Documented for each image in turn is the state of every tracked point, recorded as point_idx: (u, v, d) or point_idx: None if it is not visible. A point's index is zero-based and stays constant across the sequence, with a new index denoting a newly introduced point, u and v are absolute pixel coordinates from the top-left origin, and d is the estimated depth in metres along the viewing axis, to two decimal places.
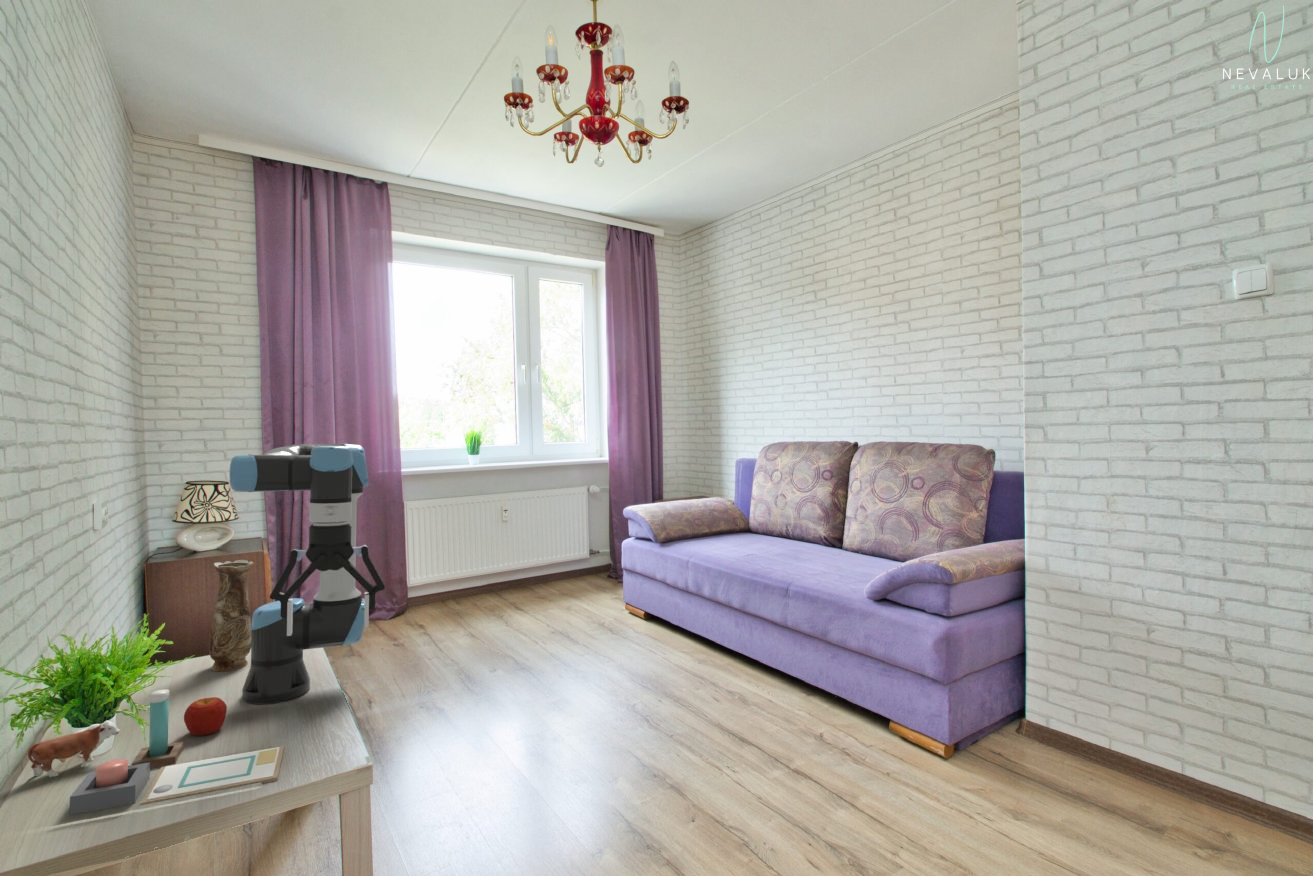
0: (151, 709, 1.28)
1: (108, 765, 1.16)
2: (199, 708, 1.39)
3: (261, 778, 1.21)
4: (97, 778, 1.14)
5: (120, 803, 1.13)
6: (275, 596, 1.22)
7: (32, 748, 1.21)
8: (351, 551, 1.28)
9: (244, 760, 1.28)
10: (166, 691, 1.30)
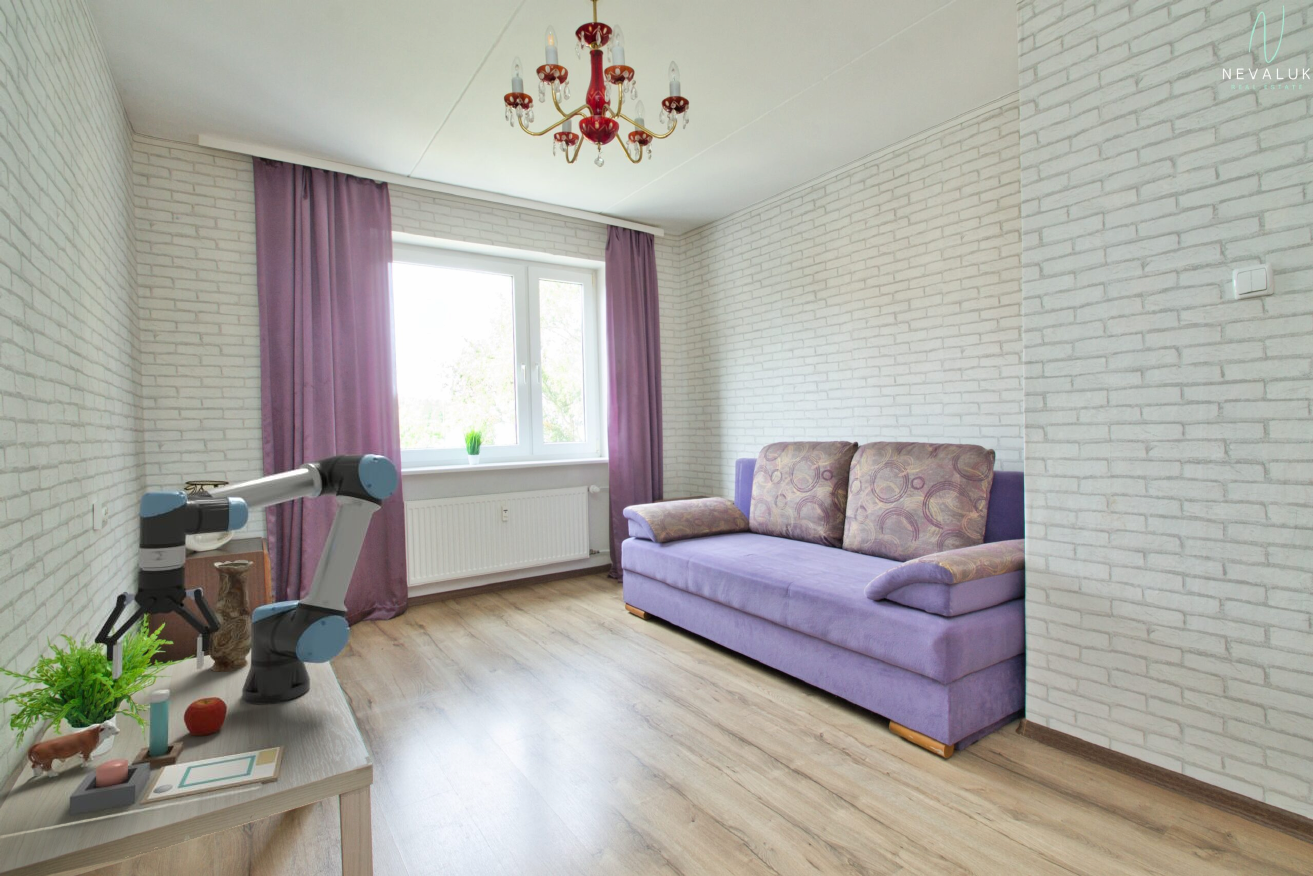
0: (151, 709, 1.28)
1: (108, 765, 1.16)
2: (199, 708, 1.39)
3: (261, 778, 1.21)
4: (97, 778, 1.14)
5: (120, 803, 1.13)
6: (100, 640, 1.24)
7: (32, 749, 1.21)
8: (183, 594, 1.30)
9: (244, 760, 1.28)
10: (166, 691, 1.30)
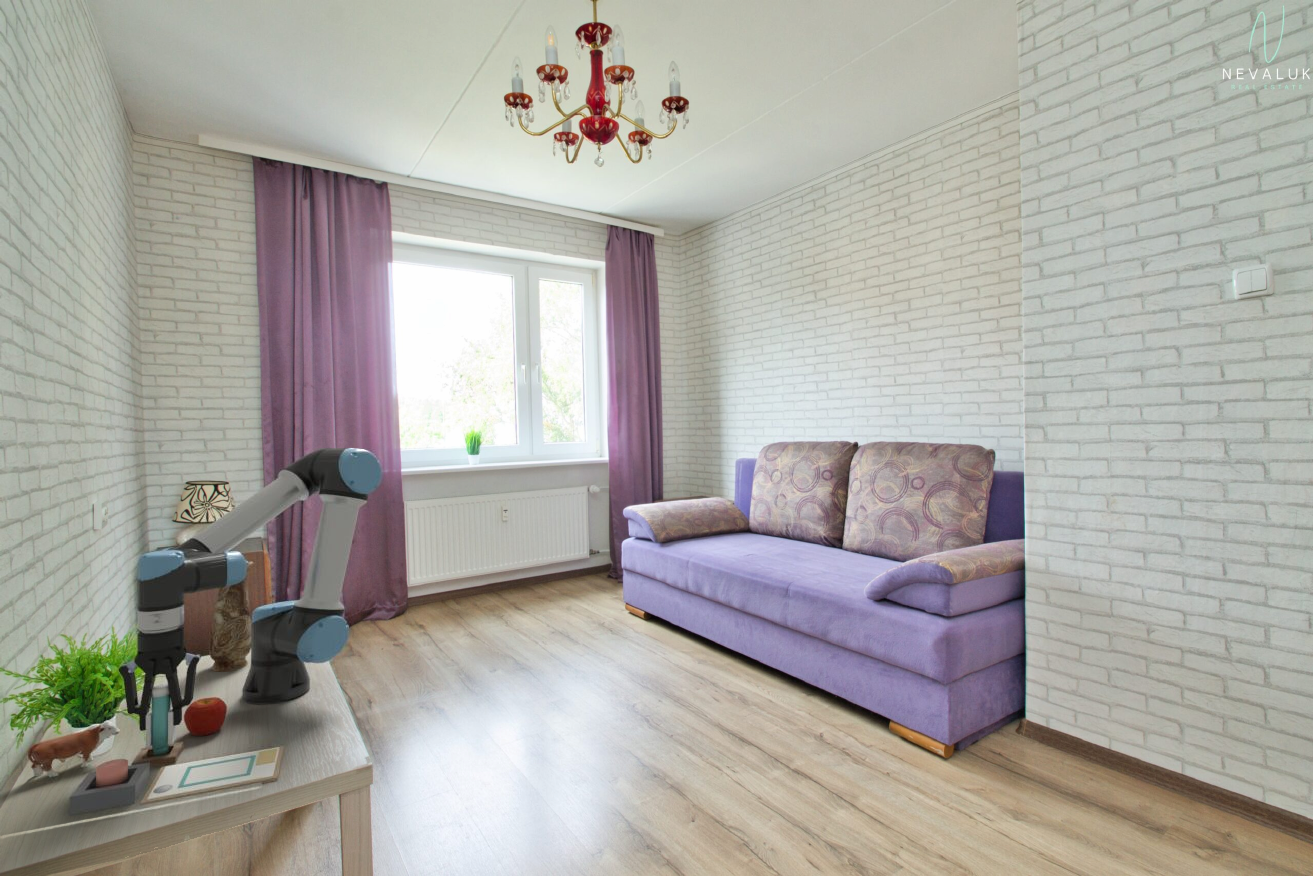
0: (153, 703, 1.28)
1: (108, 765, 1.16)
2: (199, 708, 1.39)
3: (261, 778, 1.21)
4: (97, 778, 1.14)
5: (120, 803, 1.13)
6: (133, 710, 1.26)
7: (32, 749, 1.21)
8: (182, 656, 1.30)
9: (244, 760, 1.28)
10: None
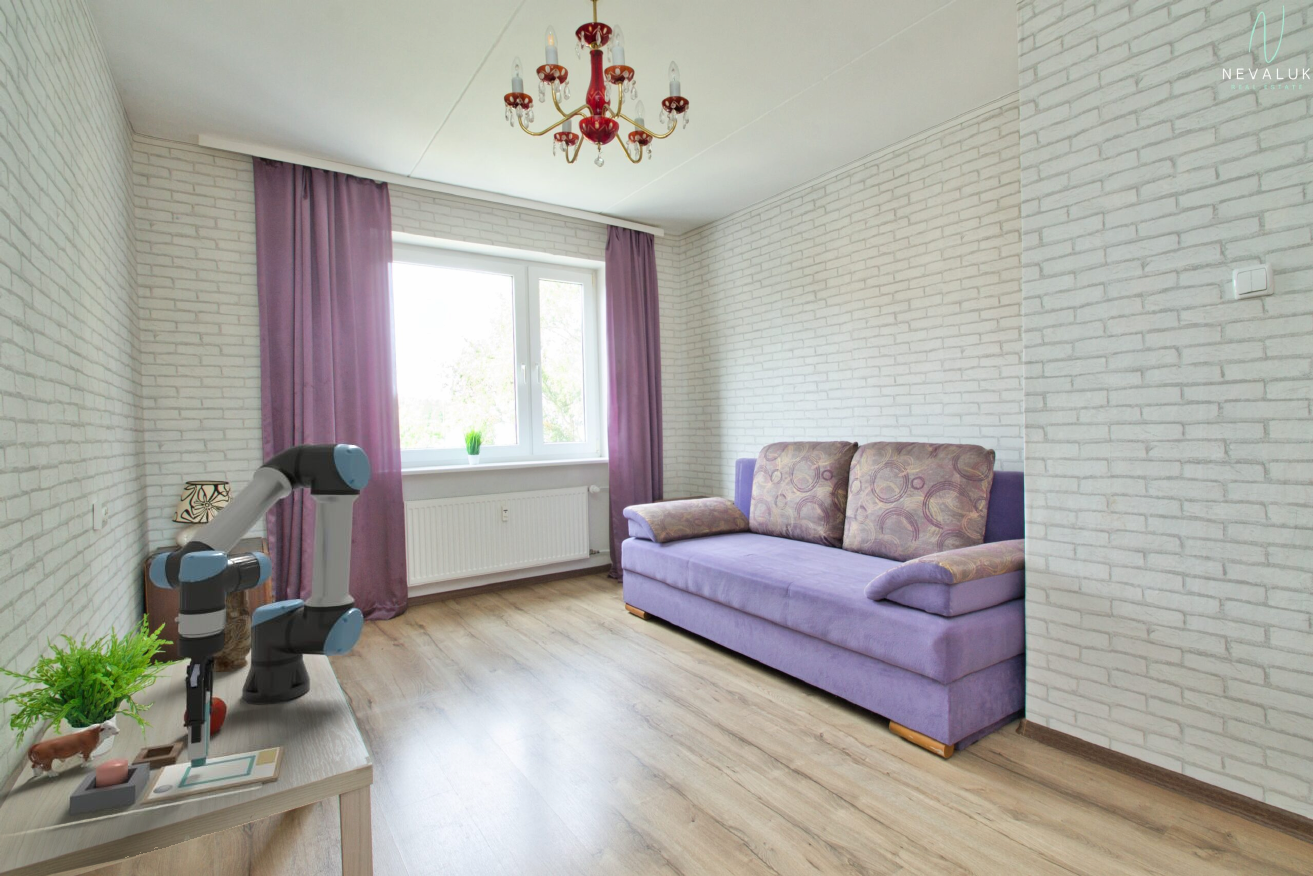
0: None
1: (108, 765, 1.16)
2: None
3: (261, 778, 1.21)
4: (97, 778, 1.14)
5: (120, 803, 1.13)
6: None
7: (32, 748, 1.21)
8: (190, 670, 1.20)
9: (244, 760, 1.28)
10: None
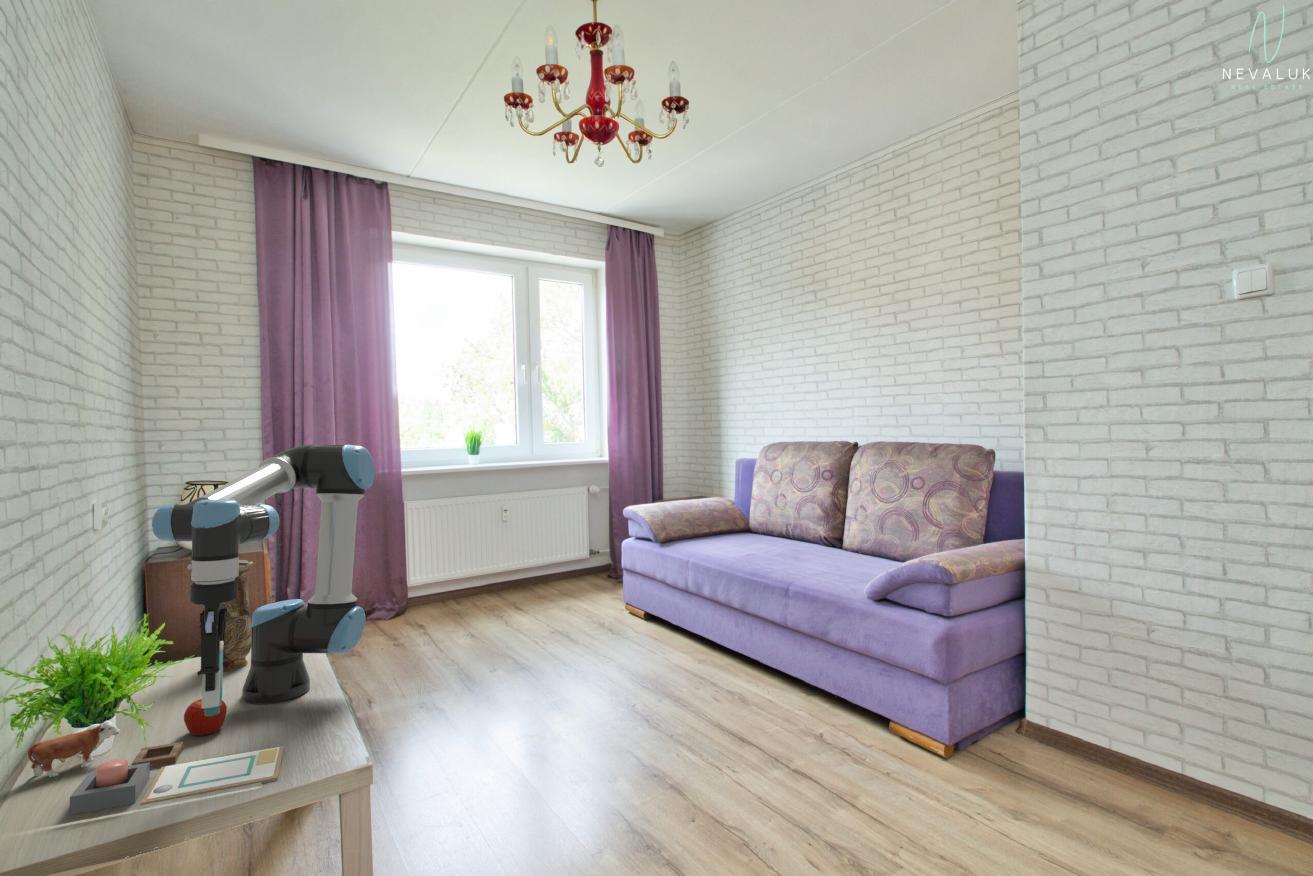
0: None
1: (108, 765, 1.16)
2: (199, 708, 1.39)
3: (261, 778, 1.21)
4: (97, 778, 1.14)
5: (120, 803, 1.13)
6: None
7: (32, 748, 1.21)
8: (204, 617, 1.18)
9: (244, 760, 1.28)
10: None
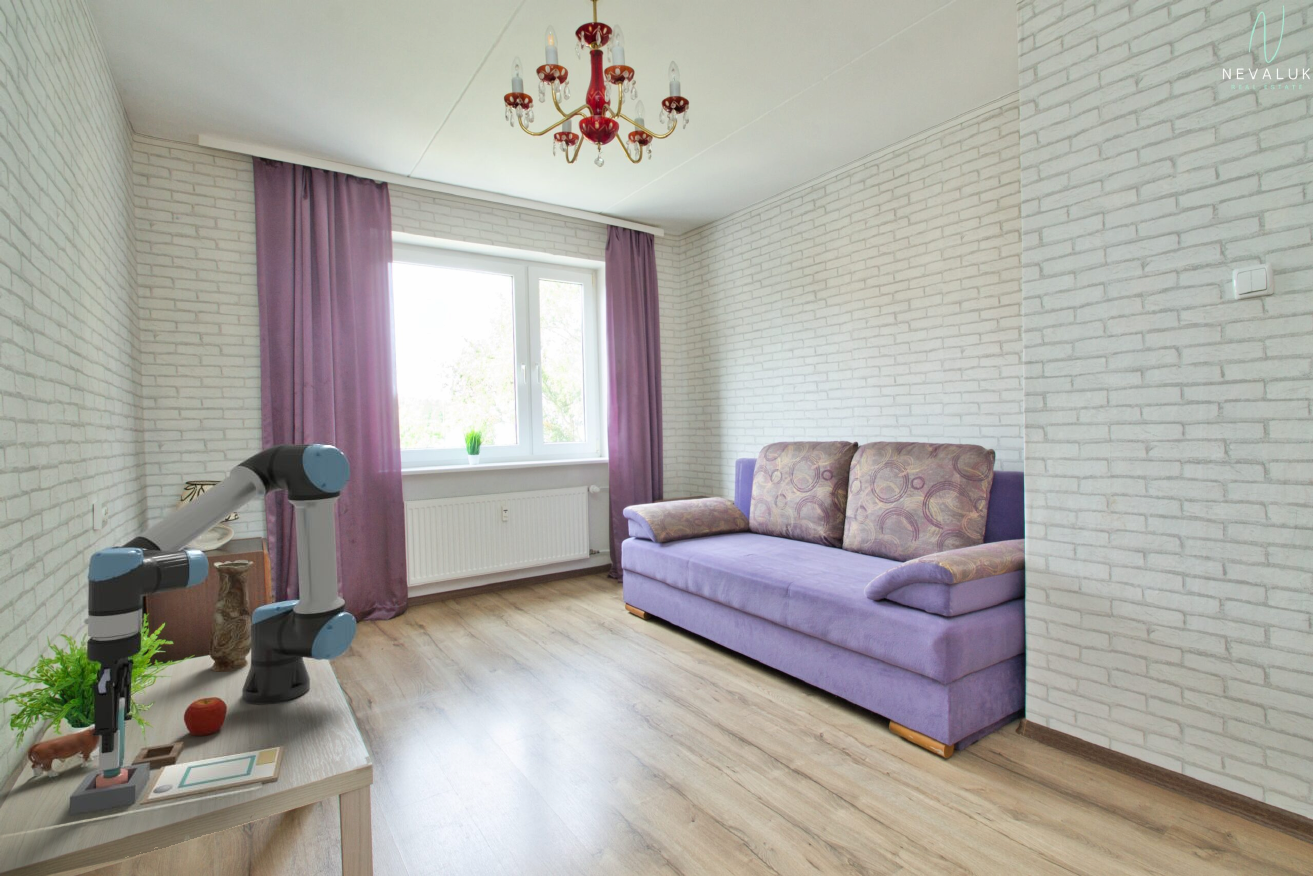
0: None
1: None
2: (199, 708, 1.39)
3: (261, 778, 1.21)
4: None
5: (120, 803, 1.13)
6: None
7: (32, 749, 1.21)
8: (99, 675, 1.12)
9: (244, 760, 1.28)
10: None
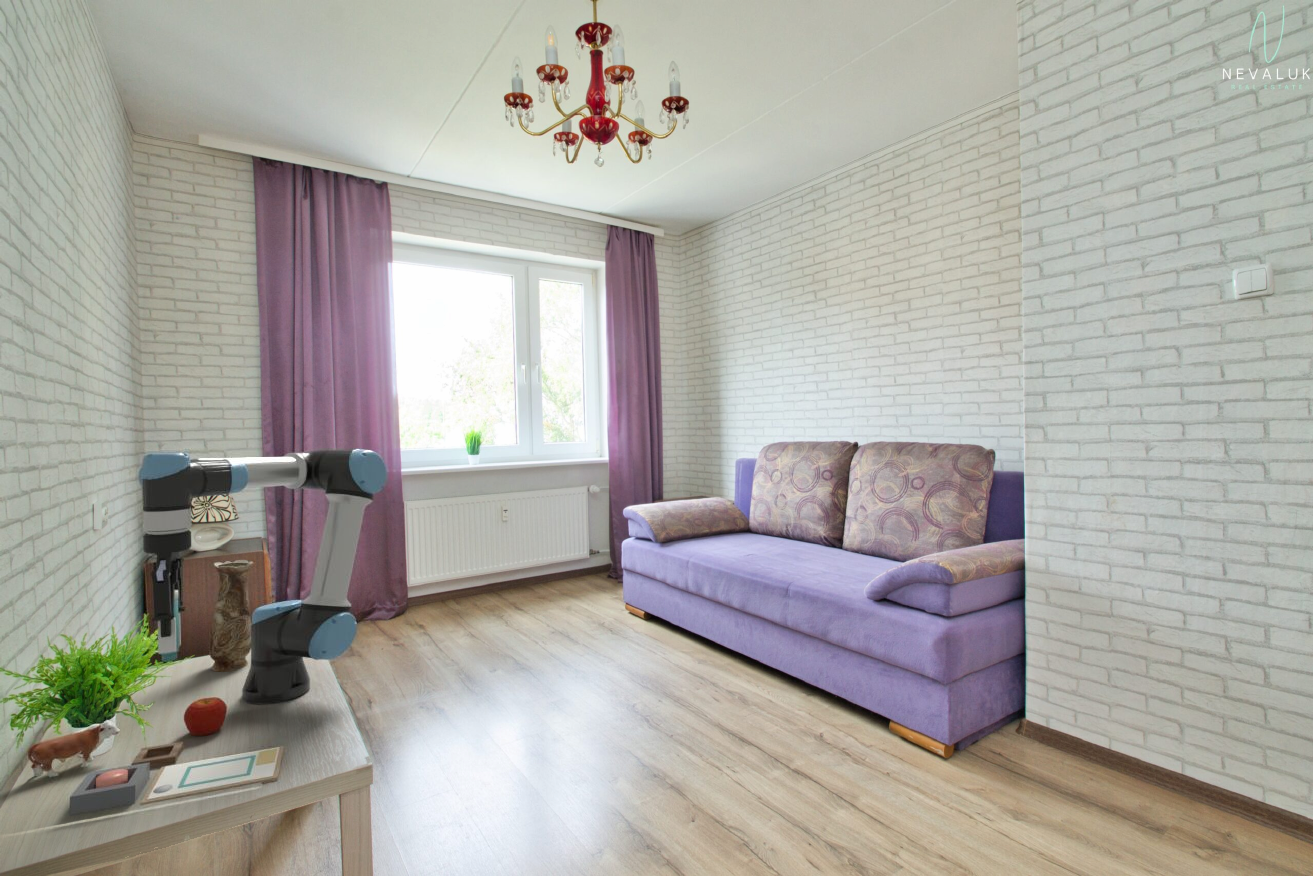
0: None
1: (108, 775, 1.15)
2: (199, 708, 1.39)
3: (261, 778, 1.21)
4: None
5: (120, 803, 1.13)
6: None
7: (32, 748, 1.21)
8: (156, 566, 1.21)
9: (244, 760, 1.28)
10: None
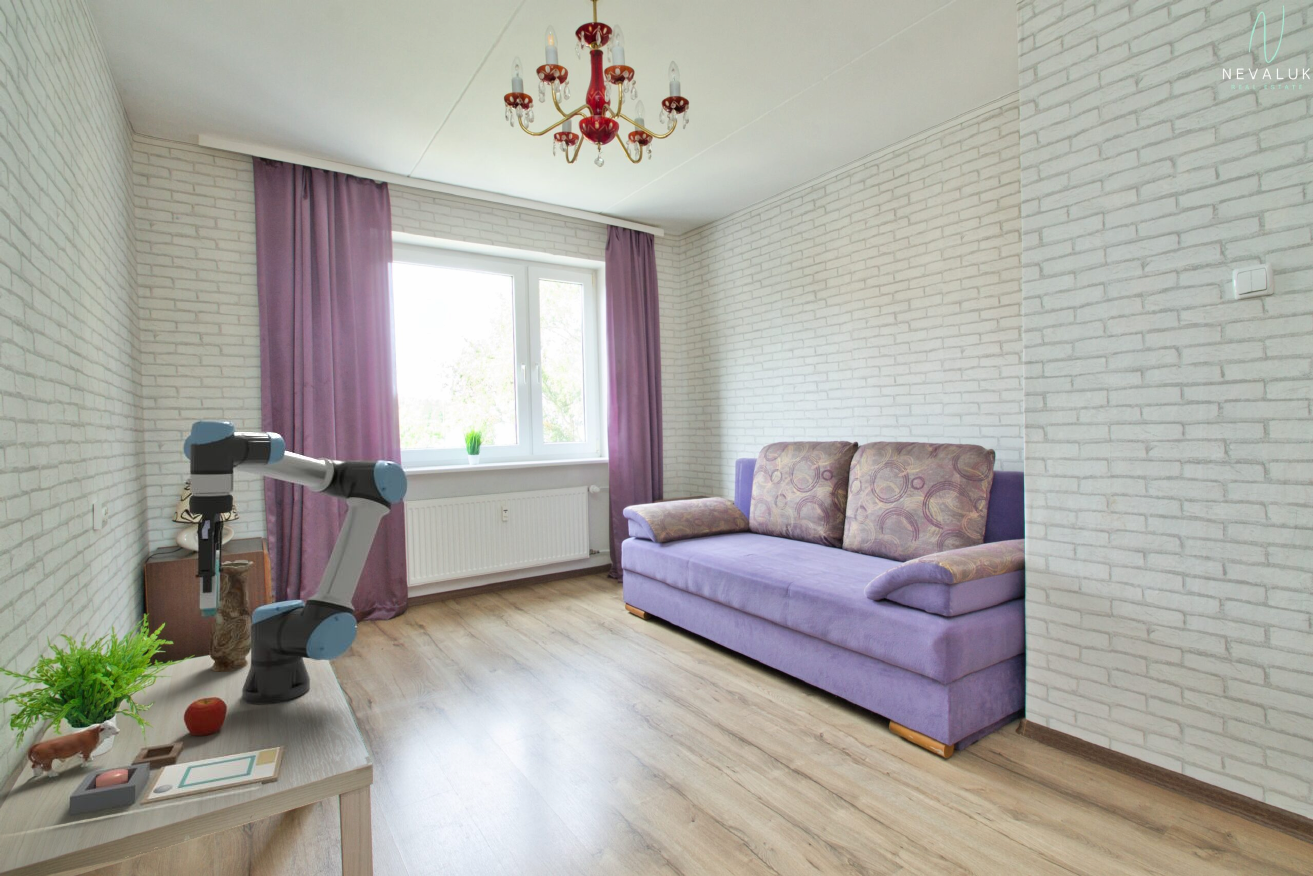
0: None
1: (108, 775, 1.15)
2: (199, 708, 1.39)
3: (261, 778, 1.21)
4: None
5: (120, 803, 1.13)
6: None
7: (32, 749, 1.21)
8: (201, 525, 1.30)
9: (244, 760, 1.28)
10: None
